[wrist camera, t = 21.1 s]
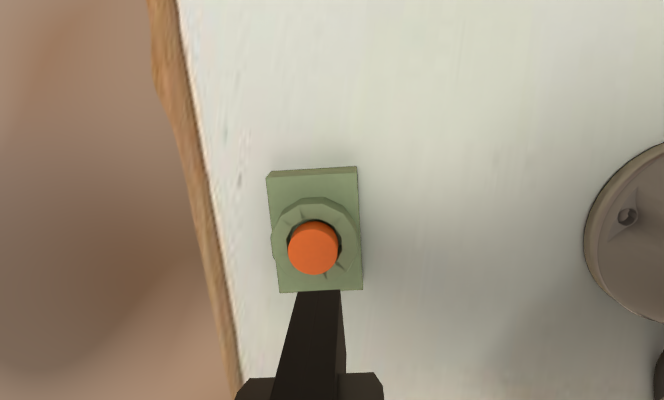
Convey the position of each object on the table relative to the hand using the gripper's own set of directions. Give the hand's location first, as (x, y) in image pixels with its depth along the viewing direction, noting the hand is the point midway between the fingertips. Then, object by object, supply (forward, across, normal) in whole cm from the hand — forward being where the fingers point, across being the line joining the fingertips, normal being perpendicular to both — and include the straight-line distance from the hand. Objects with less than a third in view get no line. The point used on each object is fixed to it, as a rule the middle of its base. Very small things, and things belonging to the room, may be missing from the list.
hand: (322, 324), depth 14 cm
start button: (+15, +2, +3) cm, 16 cm away
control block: (+19, +2, +3) cm, 19 cm away
